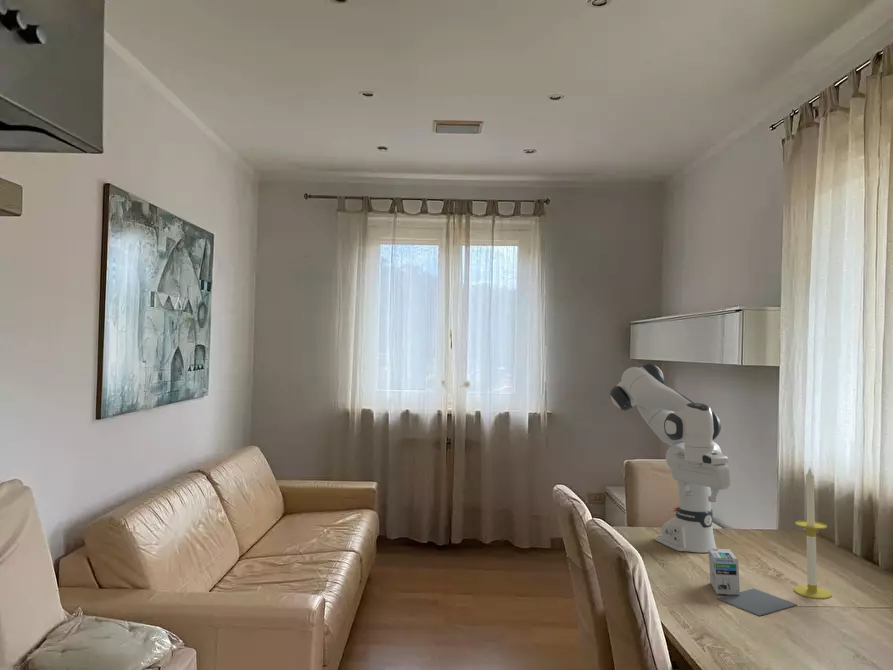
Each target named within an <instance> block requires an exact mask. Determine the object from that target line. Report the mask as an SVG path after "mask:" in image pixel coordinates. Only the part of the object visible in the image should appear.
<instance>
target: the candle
mask: <svg viewBox="0 0 893 670" xmlns="http://www.w3.org/2000/svg"><path fill="white" fill-rule="evenodd" d="M805 488H806V489H805V490H806V491H805V495H806V496H805V497H806V499H805V501H806V519H805V520H804V519H803V520H802V519H801V520H796V521H795V522H794V524H795V526H798V527H799V528H802V529H803V528H805V529H806V569H807V570H806V571H807V572H806V574H807V576H806V577H807V585H796V586H795V587H793V591H794V593H796V594H797V595H800V596H802V597H805V598H810V599H816V600H817V599H818V600H826V599H830V598H832V596H833V595H832V593H831V592H830V591H829V590H827V589H824V588H822V587H818V575H817V574H818V572H817V571H818V570H817V530H825V529H827V528H828V524H826V523H823V522H820V521H816V518H815V517H816V511H815V503H816V502H815V475H814V474H813V472H812V468H808V472H807V473H806V474H805Z"/></svg>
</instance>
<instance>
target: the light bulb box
mask: <svg viewBox="0 0 893 670" xmlns="http://www.w3.org/2000/svg"><path fill="white" fill-rule="evenodd" d="M708 558H709V560H708V565H709V582H710V585H711V586H712V588H713V590H714V591H715V593H716V595H740V592H741V591H740V590H741V589H740V576H739V575H740V571H739V570H740V569H739V558H738V557H737V556H736V555H735V553H733V551H732V550H731V548H728V549H726V548H717V549H712V548H709V552H708Z"/></svg>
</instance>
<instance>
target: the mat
mask: <svg viewBox="0 0 893 670" xmlns="http://www.w3.org/2000/svg"><path fill="white" fill-rule="evenodd" d="M716 599H717V600H718V599H719V600H718V601H721V602H723V601H724V602H723V603H726V604H728V605H730V604H731V606H733V605H734V607H735V606H736V608H738V607H739V608H738V609H740V608H741V610H743V611H745V610H746V612H747V613H750V612H751V613H750V614H753V615H755V614H756V616H757V615H758V617H762V616H761V615H763V616H765V614H766V615H769V614H773V613H776V612H779V611H782V610H787V609H790V608H793V607H796V606H798V604H797V603H795V602H793V601H789V600H786V599H784V598H780V597H779V596H776V595H773V594H770V593H767V592H766V591H765V592H764V591H762V590H759V589H756V588H754V587H753V588H749V589H746V590H743V591H742V590H741V591H740V595H729V594H726V595H723V596H719V597H717V598H716Z"/></svg>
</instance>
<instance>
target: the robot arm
mask: <svg viewBox="0 0 893 670" xmlns="http://www.w3.org/2000/svg"><path fill="white" fill-rule="evenodd" d="M609 395H610V399H611V402H612V403H613V405H614V406H615V407H617V408H618V409H619V410H621V411H625V412H626V411H629V410H631V409H633V407H635V406H636V408H637V411H638V412H639V414H640V415H641V417H642V419H643V420H644V422H645V423H646V424H647V425H648V426H649V428H650V429H651V430H652V432H653V433H654V434H655V435H656V436H657V437H658V439H659V440H660V441H661V442H662V443H665V444H666V445H669V446H670V447H669V448H668V449H667V451H666V454H665V460H666V461H665V462H666V464H667V466H668V468H670V470H671V476H672V478H673V480H675V481H676V482H677V487H678V503H679V504H678V505H679V506H677V507H674V508H673V512H676V513H675V516H673V517H672V518H671V519H669V520H667V521H666V522H664V523H663V524H662V527H661V534H658V535H656V536H655V538H654V541H656V542H657V543H658V542H659V544H660V543H661V544H662V545H664V546H666V547H669V548H671V549H674V550H676V551H678V552H691V553H709V548H712V549H718V548H717V545H716V541H715V540H716V539H715V536H714V530H713V520H714V517H713V515H714V513H713V509H712V503H715V502H717V496H718V494H719V492H720V491H721V490H728V489H729V487H730V486H731V479H730V477H731V475H730V469H729V465H728V463H729V457H728V456H726V455H725V454H723V452H722V450H721V449H722V448H721V447H720V445H719V444H718V443H717V442H715V441H714V440H715V439H716V438H717V437H718V436H719V435H720V433H721V429H722V424H721V420H720V418H719V417H718V415H717V414H716V413H715V412H714V411H713V410H712V408H711V407H710V406H709V405H707V404H704V403H698V402H694V401H692V400H691V399H689V398H688V397H687V396H685V395H684V394H682V393H680V392H678V391H677V390H674V389H673V388H671V387H669V386H667V385H665V376H664V373H663V371H662V370H661V369H660V367H658V366H657V365H655V364H654V363H652V362H646V363H645V364H642V365H641V366H640V367H638V366H631V367H629V368H627V369H625V371H623V373H622V375H621V381H619V382H618V383H617V384H616V385H614V386H613V387H612V388H611V390H610V394H609Z"/></svg>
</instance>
